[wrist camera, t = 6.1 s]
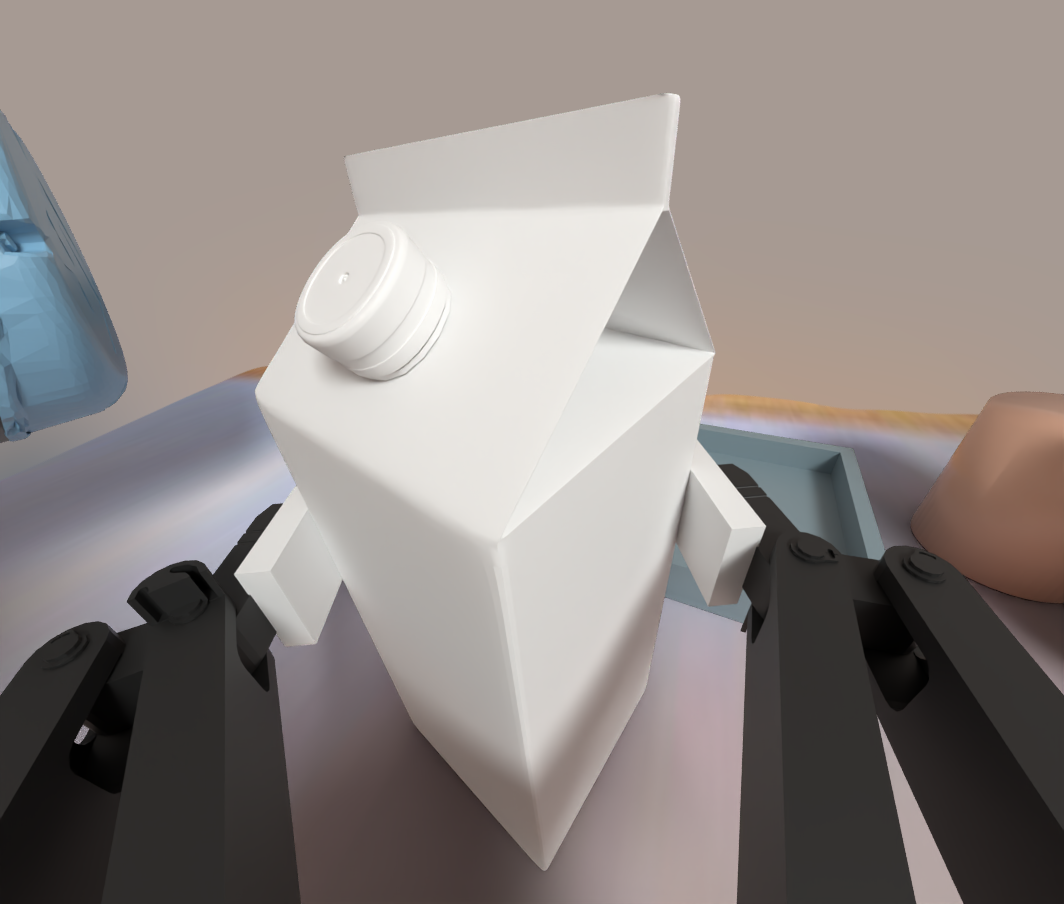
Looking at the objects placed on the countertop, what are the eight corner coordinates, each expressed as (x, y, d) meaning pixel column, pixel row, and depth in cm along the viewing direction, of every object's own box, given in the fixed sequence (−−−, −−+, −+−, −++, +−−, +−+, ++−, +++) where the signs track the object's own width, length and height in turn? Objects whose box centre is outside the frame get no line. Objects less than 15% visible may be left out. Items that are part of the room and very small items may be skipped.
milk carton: (521, 603, 21) (470, 158, 10) (646, 690, 17) (764, 116, 7) (410, 722, 16) (130, 154, 6) (545, 877, 13) (409, 15, 2)
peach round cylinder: (925, 571, 21) (1021, 444, 17) (899, 495, 26) (968, 383, 22) (1122, 625, 18) (1301, 489, 14) (1051, 528, 23) (1165, 406, 19)
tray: (569, 564, 23) (568, 532, 21) (632, 440, 34) (635, 413, 32) (883, 670, 17) (911, 635, 16) (838, 479, 28) (853, 448, 26)
